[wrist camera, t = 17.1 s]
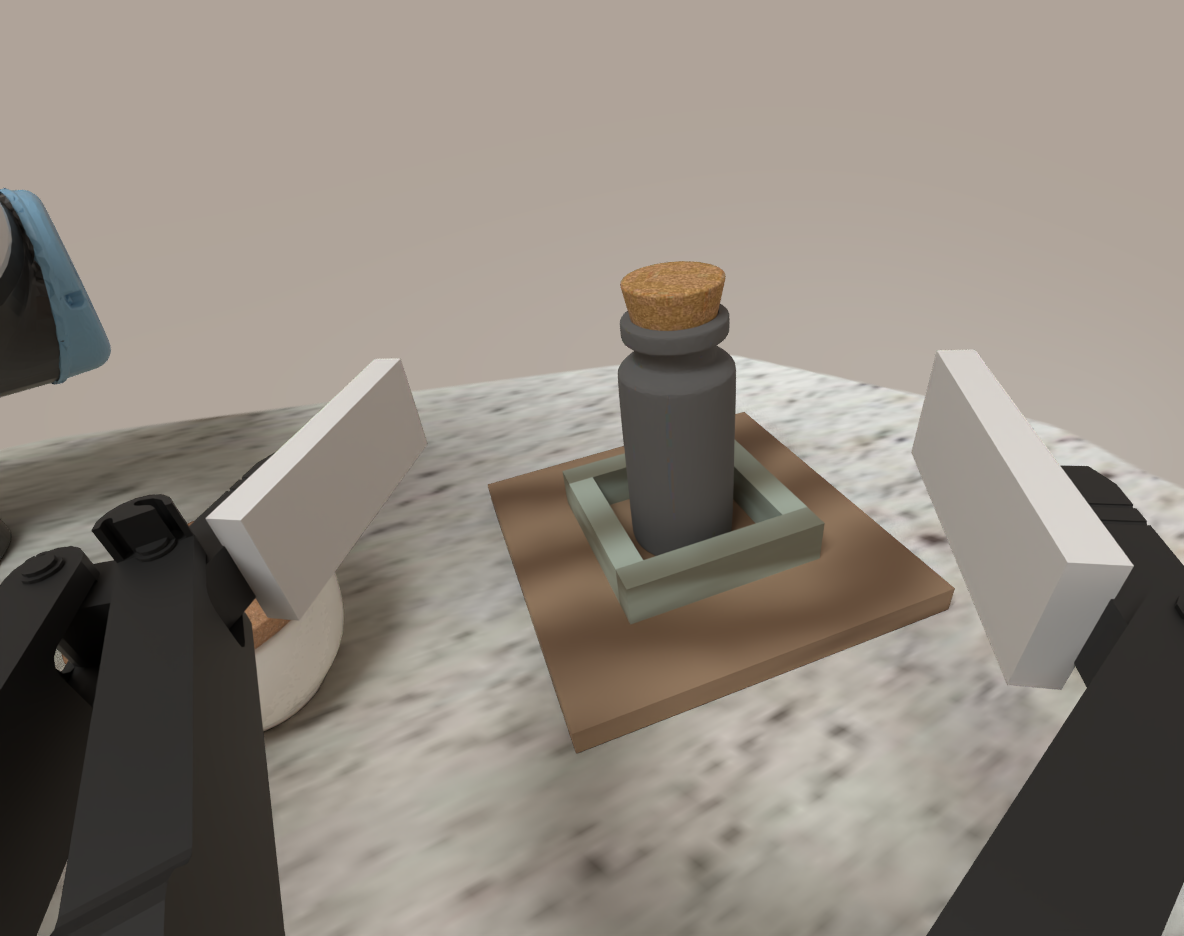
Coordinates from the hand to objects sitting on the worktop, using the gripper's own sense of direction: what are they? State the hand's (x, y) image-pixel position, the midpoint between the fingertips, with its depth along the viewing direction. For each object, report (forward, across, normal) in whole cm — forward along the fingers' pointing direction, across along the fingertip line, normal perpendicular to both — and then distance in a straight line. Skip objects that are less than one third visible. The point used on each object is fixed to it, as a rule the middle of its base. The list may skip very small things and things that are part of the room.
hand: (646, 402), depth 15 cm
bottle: (+14, 0, -17) cm, 22 cm away
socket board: (+14, 0, -18) cm, 23 cm away
